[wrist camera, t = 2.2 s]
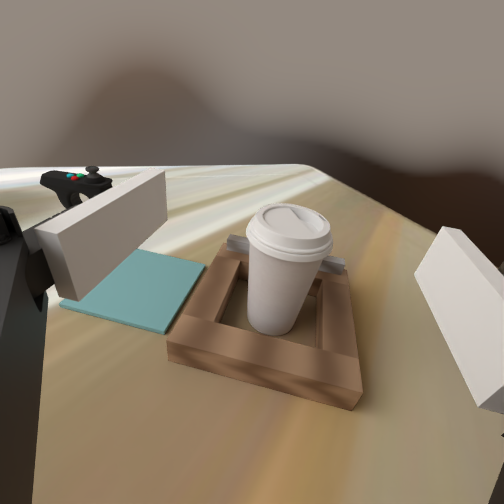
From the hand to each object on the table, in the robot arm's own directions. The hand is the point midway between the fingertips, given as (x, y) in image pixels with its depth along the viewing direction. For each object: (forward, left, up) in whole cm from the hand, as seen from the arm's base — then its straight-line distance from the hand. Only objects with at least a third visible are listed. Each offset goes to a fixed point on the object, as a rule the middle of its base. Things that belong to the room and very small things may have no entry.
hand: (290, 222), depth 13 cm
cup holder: (0, -14, -22) cm, 26 cm away
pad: (+19, -14, -22) cm, 32 cm away
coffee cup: (0, -14, -22) cm, 26 cm away
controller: (+39, -28, -22) cm, 53 cm away
